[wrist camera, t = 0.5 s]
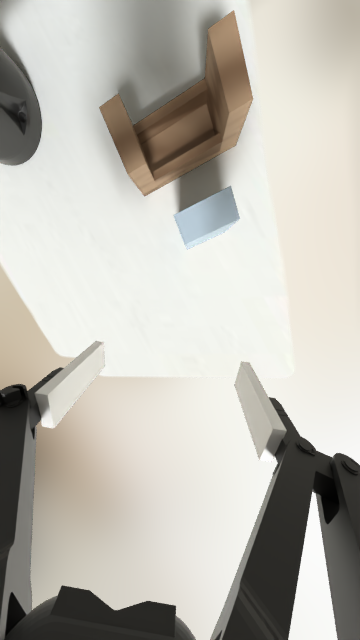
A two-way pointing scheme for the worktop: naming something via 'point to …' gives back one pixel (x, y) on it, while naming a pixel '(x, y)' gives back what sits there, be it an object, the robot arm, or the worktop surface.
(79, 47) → the worktop surface
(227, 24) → the frame
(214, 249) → the worktop surface
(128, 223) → the worktop surface
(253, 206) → the worktop surface
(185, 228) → the door
